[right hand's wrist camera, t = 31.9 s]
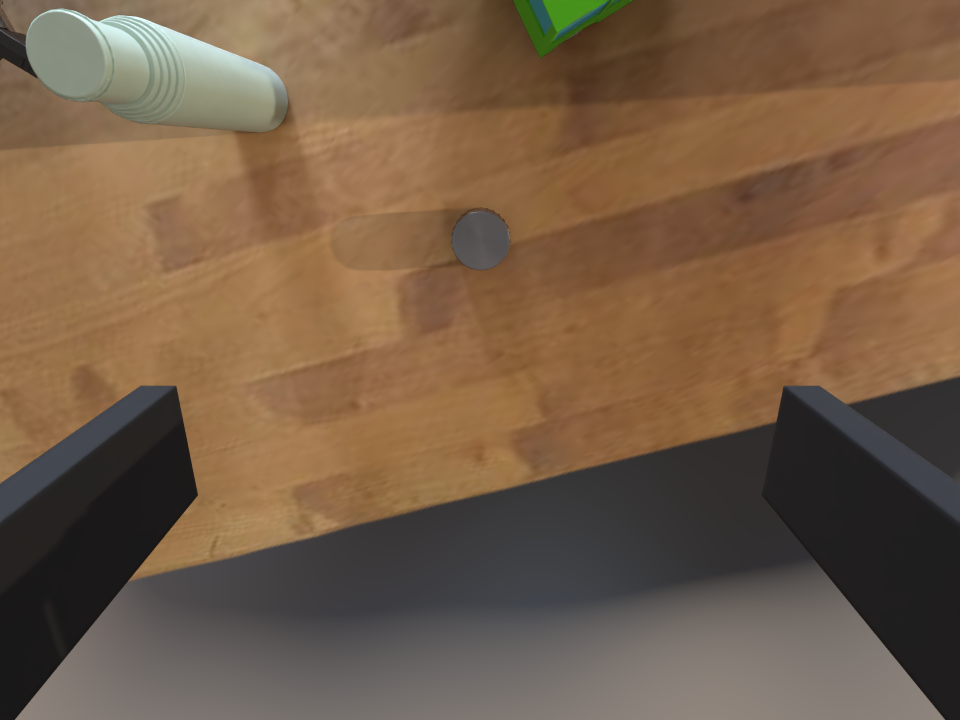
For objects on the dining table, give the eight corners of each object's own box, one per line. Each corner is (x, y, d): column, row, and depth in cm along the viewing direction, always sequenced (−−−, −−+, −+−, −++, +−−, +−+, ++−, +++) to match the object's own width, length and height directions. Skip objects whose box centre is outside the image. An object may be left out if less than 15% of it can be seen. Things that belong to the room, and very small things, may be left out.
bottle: (212, 103, 40) (-15, 64, 21) (246, 48, 38) (35, -43, 20) (266, 146, 40) (92, 143, 22) (300, 93, 39) (146, 46, 21)
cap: (520, 244, 43) (522, 249, 41) (473, 275, 44) (472, 282, 42) (488, 195, 42) (489, 198, 39) (441, 228, 42) (439, 233, 40)
